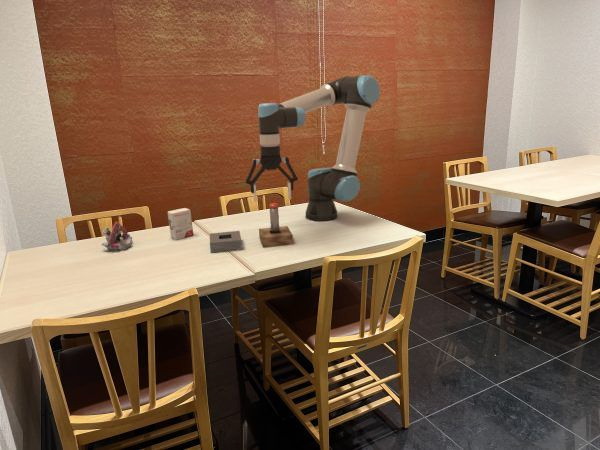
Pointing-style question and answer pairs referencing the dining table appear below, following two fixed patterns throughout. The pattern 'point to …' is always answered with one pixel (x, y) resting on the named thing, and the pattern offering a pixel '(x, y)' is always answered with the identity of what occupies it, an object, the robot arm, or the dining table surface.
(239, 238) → the dock
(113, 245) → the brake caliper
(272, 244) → the mount
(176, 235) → the ink box
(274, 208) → the lock pin
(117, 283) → the dining table surface
